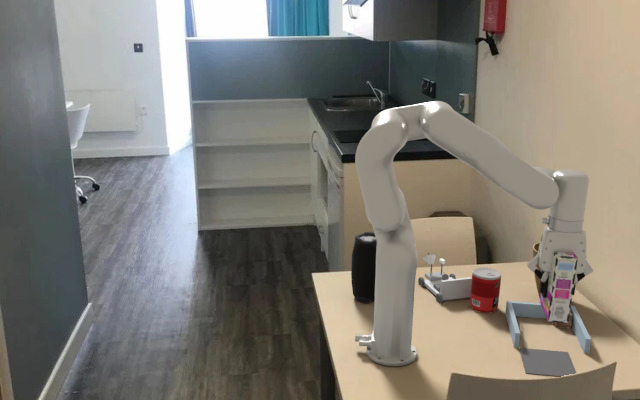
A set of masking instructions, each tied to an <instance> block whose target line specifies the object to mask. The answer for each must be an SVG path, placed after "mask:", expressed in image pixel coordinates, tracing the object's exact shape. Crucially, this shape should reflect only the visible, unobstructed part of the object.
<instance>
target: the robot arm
mask: <svg viewBox="0 0 640 400" xmlns="http://www.w3.org/2000/svg"><path fill="white" fill-rule="evenodd" d="M422 139H427V140H429V141H430V142H431V143H432V144H434V145H436V146H437V147H439V148H440V149H442V150H444V151H445V152H447V153H449V154H450V155H452V156H453V157H454V158H457V159H458V160H460V162H463V163H464V164H465V165H467V166H469V167H470V168H471V169H473V170H475V171H476V172H477V173H478V174H480V175H481V176H483V177H485V178H486V179H487V180H489V181H491V182H493V184H495V185H497V186H498V187H500V188H501V189H502V190H503V191H504V192H507V193H508V194H510V195H511V196H513V197H514V198H516V199H518V201H520V202H522V203H524V204H525V205H526V206H528V207H530V208H532V209H534V210H535V209H536V210H542V211H543V210H548V209H549V210H548V211H549V213H548V214H547V217H541V224H545V226H544V228H543V231H542V234H541V238H540V241H539V242H540V245H539V250H538V254H537V255H536V256H535V257H534V258H533V257H532V259H530V260H529V261H528V262H527V263H526V265H527V268H528V269H529V270H530V271H531V272H532V273H535V274H536V275H537V276H538V278H539V279H540V287H539V292H540V293H541V294H542V296H543V298H546V297H547V289H548V282H547V278H548V275H549V273H550V272H552V264H553V256H554V253H555V252H557V253H571V254H575V255H576V256H577V258H578V261H577V268H576V275H575V281H574V288H573V295H572V296H575V292H576V285H577V284H578V283H579V282H580V281H582V280H583V279H584V278H585V277H587V276H589V275H590V274H592V273H593V272H594V269H593V268H592V266H591V265H590V263H589V262H588V260H587V257H586V253H587V233H586V231H585V230H584V229H583V226H584V220H585V213H586V212H585V211H586V207H587V206H586V205H587V199H588V191H589V182H590V178H589V175H587V173H585V172H583V171H581V170H576V169H550V168H545V167H540V166H532V165H530V164H528V163H527V162H526V161H524V160H523V159H521V158H520V156H517V155H516V154H515V153H514V152H512V151H511V150H510V148H508V146H507V145H505V144H504V143H503V142H502V141H501V140H500V139H499V138H498V137H496V136H494V135H493V134H491V133H490V132H488V131H487V130H485V129H484V128H482V127H480V126H479V125H477V124H476V123H474V122H473V121H471V120H469V119H468V118H467V117H465V116H464V115H462V114H460V113H459V112H458V111H456V110H454V109H453V107H452V106H451V105H450V104H448V103H447V102H444V101H441V100H434V101H428V102H427V101H426V102H421V103H416V104H411V105H404V106H399V107H392V108H387V109H384V110H382V111H380V112H378V114H376V115H375V116H374V118H373V120H372V122H371V125H370V128H369V130H368V131H367V132H366V133H365V134H364V135H363V136H362V137H361V139H360V141H359V143H358V145H357V148H356V151H355V156H354V159H355V161H354V162H355V170H356V174H357V178H358V181H359V185H360V186H359V187H360V192H361V196H362V199H363V203H364V208H365V215H366V217H367V220H368V222H369V223H370V224H371V226H372V229H373V233H375V237H376V241H377V247H376V276H375V300H374V310H373V328H372V329H373V330H372V332H371V333H368V334H362V333H359V334H358V333H355V337H354V338H355V339H354V341H355V342H357V343H358V346H359V347H366V349H365V351H366V352H365V353H366V355H367V357H368V358H369V359H370V360H371V361H373V362H375V363H377V364H379V365H382V366H387V367H401V366H402V367H403V366H406V365H409V364H411V363H413V362H414V361H415V360H416V359H417V356H418V349H417V348H416V346H415V345H414V344H412V339H413V323H414V307H415V306H414V305H415V288H416V287H415V285H416V276H417V268H418V250H417V244H416V239H415V237H416V236H415V233H414V229H413V226H412V222H411V218H410V213H409V211H408V206H407V202H406V198H405V195H404V192H403V191H402V190H401V188H400V187H399V185H398V181H397V176H396V171H395V169H394V158H395V156H396V155H397V154H398V152H399V151H400V150H402V148H403V147H405V145H406V143H407V142H409V141H416V140H422ZM537 263H538V264H539V268H540V269H541V271H540V270H539V269H538V268H537V267H536V266H535V265H536V264H537ZM535 274H534V275H535Z"/></svg>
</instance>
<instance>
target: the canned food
mask: <svg viewBox="0 0 640 400" xmlns="http://www.w3.org/2000/svg"><path fill="white" fill-rule="evenodd" d="M471 273H472V275H471V277H472V283H471V295H470V297H469V305H470V308H471V309H472V310H474V311H476V312H478V313H481V314H482V313H483V314H493V313H495V312H497V310H498V308H499V303H500V302H499V300H500V290H501V282H502V273H501V272H500V271H499V270H497V269H495V268H491V267H476V268H474V269H473V270H472V272H471Z"/></svg>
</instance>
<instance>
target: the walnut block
mask: <svg viewBox="0 0 640 400" xmlns="http://www.w3.org/2000/svg"><path fill="white" fill-rule="evenodd" d="M571 322H572V314H571V312H570V316H569V323H556V322H552V324H553V325H554V328H561V329H563V328H564V329H571V328H572V325H571Z"/></svg>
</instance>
